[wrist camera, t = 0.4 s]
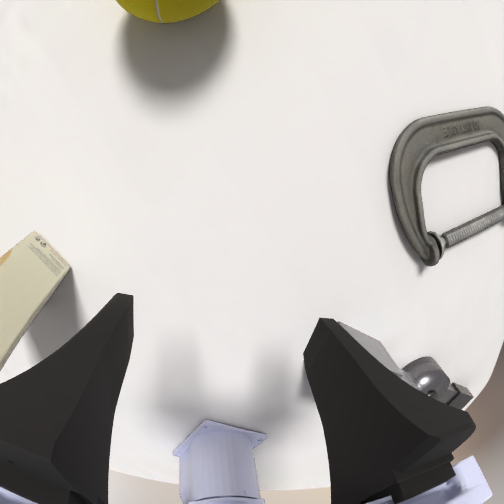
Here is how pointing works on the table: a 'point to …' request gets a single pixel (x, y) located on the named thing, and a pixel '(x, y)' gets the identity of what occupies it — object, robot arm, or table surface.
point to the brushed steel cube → (374, 349)
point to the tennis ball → (166, 9)
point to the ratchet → (435, 382)
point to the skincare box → (26, 287)
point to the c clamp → (418, 156)
